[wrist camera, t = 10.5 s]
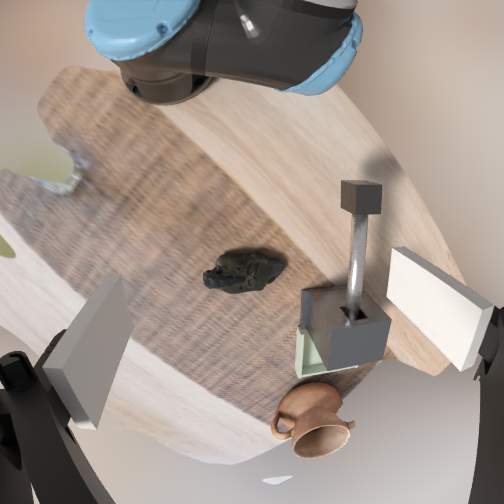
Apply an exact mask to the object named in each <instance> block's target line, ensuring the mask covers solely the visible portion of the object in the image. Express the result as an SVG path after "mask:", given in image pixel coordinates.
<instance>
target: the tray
mask: <svg viewBox="0 0 504 504" xmlns="http://www.w3.org/2000/svg"><path fill="white" fill-rule="evenodd" d="M353 367H355V368H358V365H356V366H352V367H347V368H342V369H337V370H332V371H327V370H326V368H325V366H324V364H323V362H322V360H321V358H320V356H319V354H318V352H317V350H316V348H315V345H314V343H313V341H312V339H311V337H310V335H309V333H308V331H307V329H304V330H302V329H301V326H297V341H296V361H295V371H296V374H297V376H298V379H299V378H301V377H305V376H312V375H317V374H323V373H328V372H334V371H339V370H344V369H349V368H353Z"/></svg>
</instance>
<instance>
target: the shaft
mask: <svg viewBox="0 0 504 504" xmlns="http://www.w3.org/2000/svg"><path fill="white" fill-rule="evenodd" d="M381 202H382V185H381V184H377V183H373V182H369V181H362V180H341V208H342V209H344V210H346V211H348V212H350V213H352V222H351V241H350V256H349V269H348V281H347V291H346V301H345V310H344V314H345V315H346V317H347V318H348V319H349V321H355V320H358V316H359V309H360V301H361V293H362V285H363V276H364V266H365V256H366V244H367V230H368V214H381Z"/></svg>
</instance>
